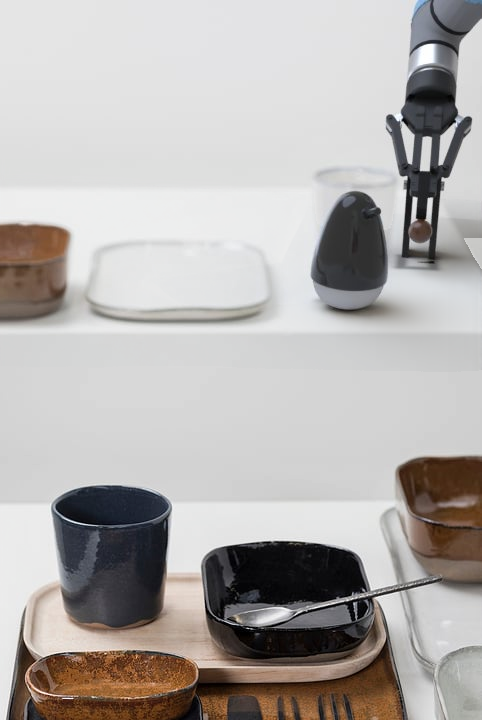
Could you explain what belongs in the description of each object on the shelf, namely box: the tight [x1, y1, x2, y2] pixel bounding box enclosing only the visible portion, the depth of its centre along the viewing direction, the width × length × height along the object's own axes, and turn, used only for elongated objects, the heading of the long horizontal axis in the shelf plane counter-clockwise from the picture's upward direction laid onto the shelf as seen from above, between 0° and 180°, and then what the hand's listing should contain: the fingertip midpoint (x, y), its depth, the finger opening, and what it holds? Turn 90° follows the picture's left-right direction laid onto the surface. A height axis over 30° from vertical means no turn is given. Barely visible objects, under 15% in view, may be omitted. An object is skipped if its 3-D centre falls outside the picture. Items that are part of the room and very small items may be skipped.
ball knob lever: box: [408, 197, 432, 244], centre depth 160 cm, size 13×3×3 cm
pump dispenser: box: [310, 190, 389, 311], centre depth 143 cm, size 10×10×15 cm
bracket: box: [401, 176, 446, 265], centre depth 165 cm, size 8×6×14 cm
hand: (421, 213), depth 157 cm, fingers closed
